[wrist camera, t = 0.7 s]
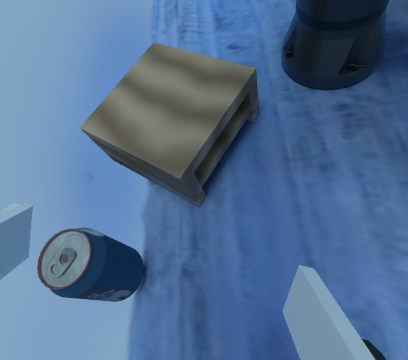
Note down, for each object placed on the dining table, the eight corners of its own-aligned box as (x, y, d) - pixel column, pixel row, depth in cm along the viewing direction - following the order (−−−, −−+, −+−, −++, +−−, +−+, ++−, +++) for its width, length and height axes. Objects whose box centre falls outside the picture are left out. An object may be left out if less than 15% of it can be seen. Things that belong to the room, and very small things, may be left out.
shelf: (172, 84, 50) (153, 42, 43) (259, 113, 43) (255, 68, 35) (113, 160, 46) (79, 127, 38) (199, 206, 38) (179, 179, 30)
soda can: (122, 238, 39) (66, 211, 28) (157, 265, 36) (110, 245, 25) (90, 282, 37) (18, 269, 26) (125, 313, 34) (59, 313, 24)
